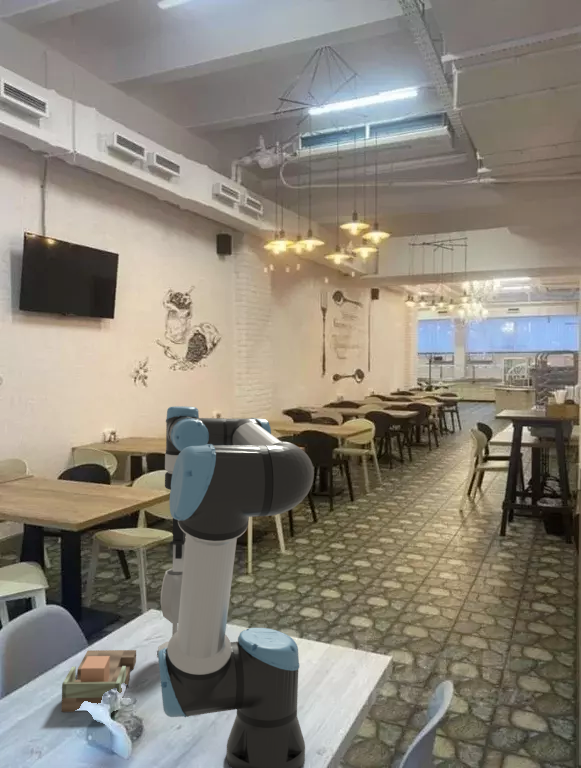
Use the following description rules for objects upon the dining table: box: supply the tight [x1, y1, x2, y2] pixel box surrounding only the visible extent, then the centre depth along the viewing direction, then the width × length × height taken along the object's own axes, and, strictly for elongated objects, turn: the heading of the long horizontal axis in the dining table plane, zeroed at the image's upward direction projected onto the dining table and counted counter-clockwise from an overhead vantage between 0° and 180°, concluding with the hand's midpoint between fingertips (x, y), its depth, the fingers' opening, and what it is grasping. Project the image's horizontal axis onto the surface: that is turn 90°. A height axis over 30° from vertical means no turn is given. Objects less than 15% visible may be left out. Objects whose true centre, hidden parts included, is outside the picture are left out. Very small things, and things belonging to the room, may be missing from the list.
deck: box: [61, 649, 137, 713], centre depth 145 cm, size 23×12×6 cm, turn 5°
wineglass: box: [157, 568, 183, 652], centre depth 164 cm, size 9×9×21 cm
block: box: [81, 656, 110, 682], centre depth 139 cm, size 6×5×5 cm
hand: (178, 570), depth 148 cm, fingers closed
